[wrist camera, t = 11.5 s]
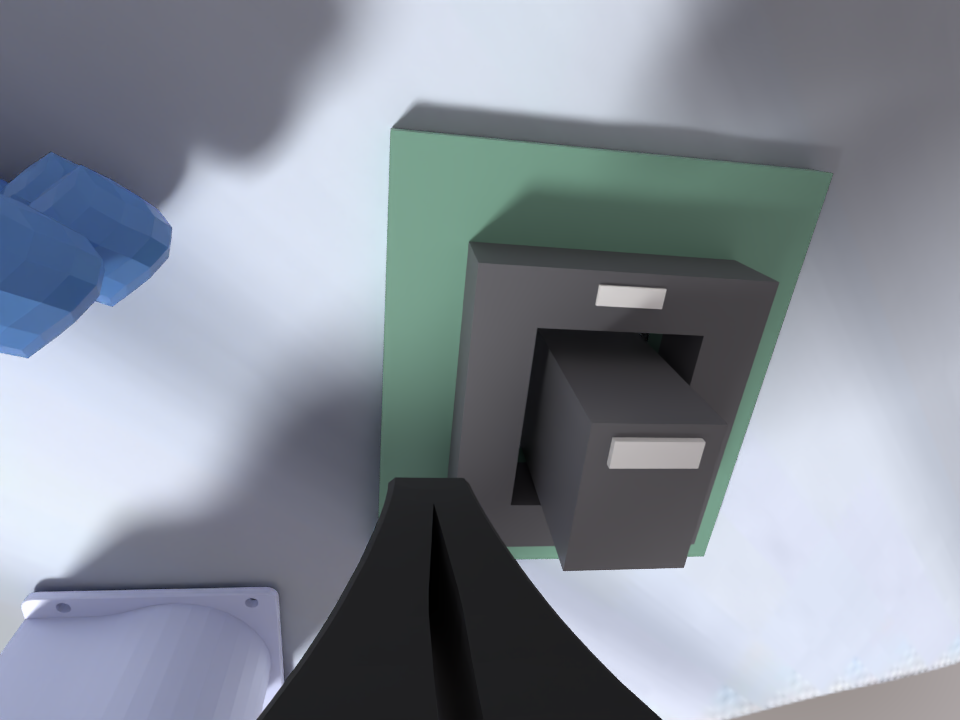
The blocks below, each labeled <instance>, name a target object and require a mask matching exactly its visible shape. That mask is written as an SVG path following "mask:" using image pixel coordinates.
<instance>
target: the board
mask: <svg viewBox="0 0 960 720" xmlns="http://www.w3.org/2000/svg"><path fill="white" fill-rule="evenodd" d="M832 176H833V173H828V172H823V171H818V170H811V169H801V168H791V167H781V166H771V165H761V164H751V163H741V162H731V161H720V160H710V159H700V158H690V157H680V156H670V155H660V154H650V153H639V152H629V151H619V150H609V149H599V148H589V147H579V146H569V145H558V144H548V143H538V142H528V141H518V140H508V139H498V138H488V137H477V136H467V135H457V134H447V133H437V132H427V131H417V130H407V129H396V128H391V133H390V165H389V197H388V229H387V260H386V292H385V324H384V356H383V388H382V419H381V451H380V483H379V515H378V519H379V517H380V514H381V511H382V508H383V505H384V502H385V498H386V494H387V490H388V483H389V482H390V481H391V480H393V479H394V478H395V477H408V478H464V479H465V480H466V481H467V482H468V483H469V484H470V486H471V488H472V490H473V492H474V494H475V496H476V498H477V500H478V501H479V503H480V505H481V507H482V508H483V510H484V512H485V514H486V515H487V517H488V519H489V520H490V522H491V524H492V525H493V527H494V528H495V530H496V532H497V533H498V535H499V536H500V538H501V539H502V541H503V542H504V544H505V545H506V547H507V548H508V550H509V551H510V552H511V554H512V555H513V557H514V558H515V559H559V557H558V554H557V551H556V548H555V545H554V542H553V539H552V536H551V533H550V530H549V527H548V524H547V521H546V518H545V515H544V512H543V510H542V507H541V504H540V501H539V498H538V495H537V492H536V489H535V486H534V483H533V480H532V477H531V474H530V471H529V468H528V465H527V462H526V459H525V456H524V453H523V450H522V448H519V447H520V440H521V434H522V427H523V420H524V414H525V407H526V400H527V393H528V387H529V380H530V373H531V367H532V360H533V353H534V347H535V340H536V333H537V328H551V329H572V330H593V331H614V332H635V333H649V337H648V341H647V343H648V344H649V345H650V346H651V347H652V348H653V349H654V350H655V351H656V352H657V353H658V354H659V355H660V356H661V357H662V358H663V359H664V360H665V361H666V362H667V363H668V364H669V365H670V366H671V367H672V368H673V369H674V370H675V371H676V373H677V374H678V375H679V376H680V377H681V378H682V379H683V380H684V381H685V382H686V383H687V384H688V385H689V386H690V387H691V388H692V389H693V390H694V391H695V392H696V393H697V394H698V395H699V396H700V397H701V398H702V399H703V400H704V401H705V402H706V403H707V404H708V405H709V406H710V407H711V408H712V409H713V410H714V411H715V412H716V413H717V414H718V415H719V416H720V417H721V418H722V419H723V420H724V421H725V422H726V423H727V424H728V426H727V430H726V433H725V436H724V439H723V442H722V446H721V449H720V452H719V455H718V459H717V462H716V465H715V468H714V471H713V475H712V478H711V481H710V484H709V488H708V491H707V494H706V497H705V501H704V504H703V507H702V510H701V513H700V517H699V520H698V523H697V526H696V530H695V533H694V536H693V539H692V543H691V546H690V549H689V552H688V555H687V557H694V556H704V554H705V551H706V548H707V545H708V542H709V539H710V536H711V533H712V531H713V528H714V525H715V522H716V519H717V516H718V513H719V510H720V507H721V504H722V501H723V498H724V495H725V492H726V489H727V486H728V483H729V480H730V477H731V474H732V471H733V468H734V465H735V463H736V460H737V457H738V454H739V451H740V448H741V445H742V442H743V439H744V436H745V433H746V430H747V427H748V424H749V421H750V418H751V415H752V412H753V409H754V406H755V403H756V400H757V397H758V395H759V392H760V389H761V386H762V383H763V380H764V377H765V374H766V371H767V368H768V365H769V362H770V359H771V356H772V353H773V350H774V347H775V344H776V341H777V338H778V335H779V332H780V329H781V327H782V324H783V321H784V318H785V315H786V312H787V309H788V306H789V303H790V300H791V297H792V294H793V291H794V288H795V285H796V282H797V279H798V276H799V273H800V270H801V267H802V264H803V261H804V259H805V256H806V253H807V250H808V247H809V244H810V241H811V238H812V235H813V232H814V229H815V226H816V223H817V220H818V217H819V214H820V211H821V208H822V205H823V202H824V199H825V196H826V193H827V191H828V188H829V185H830V182H831V179H832Z"/></svg>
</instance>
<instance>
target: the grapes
mask: <svg viewBox="0 0 960 720" xmlns="http://www.w3.org/2000/svg"><path fill="white" fill-rule="evenodd" d="M171 238H172V227H171V226H170V224H169V223H168V222H167V220H166V219H165V218H164V216H163V215H162V214H161V212H160V211H159V210H158V209H157V208H155V207H154V206H152V205H151V204H150V203H148V202H147V201H145V200H144V199H142V198H141V197H139V196H137V195H136V194H134V193H133V192H131V191H129V190H128V189H126V188H124V187H123V186H121V185H119V184H118V183H116V182H114V181H113V180H111V179H109V178H107V177H105V176H103V175H101V174H99V173H97V172H95V171H93V170H91V169H89V168H87V167H84V166H82V165H77V164H75V163H73V162H71V161H69V160H67V159H65V158H63V157H61V156H59V155H57V154H55V153H53V152H50V153H49V154H47V155H46V156H44V157H43V158H41V159H40V160H38V161H37V162H35V163H34V164H32V165H31V166H29V167H28V168H26V169H25V170H24V171H23V172H22V173H20V174H19V175H18V176H17V177H16V178H14V179H13V180H12V181H11V182H10V183H8V182H6V181H4V180H2V179H0V353H5V354H10V355H15V356H20V357H25V358H29V357H30V356H32V355H33V354H34V353H36V352H37V351H39V350H40V349H41V348H43V347H44V346H45V345H47V344H48V343H49V342H51V341H52V340H54V339H55V338H56V337H58V336H59V335H60V334H61V333H62V332H64V331H65V330H66V329H67V328H69V327H70V326H71V325H72V324H73V323H75V322H76V321H77V320H78V318H79V317H80V316H81V315H82V314H83V313H84V312H85V311H86V310H87V309H88V308H89V307H90V306H91V305H92V304H93V303H94V301H96V302H99V303H102V304H105V305H108V306H112V307H113V306H114V305H115V304H117V303H118V302H119V301H121V300H122V299H123V298H125V297H126V296H128V295H129V294H130V293H132V292H133V291H134V290H136V289H137V288H138V287H139V286H141V285H142V284H143V283H144V282H146V281H147V280H148V279H149V278H151V276H152V275H153V274H154V273H155V272H156V271H157V270H158V269H159V268H160V266H161V265H162V264H163V263H164V262H165V261H166V260H167V259H168V257H169V251H170V245H171Z"/></svg>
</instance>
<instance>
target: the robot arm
mask: <svg viewBox="0 0 960 720" xmlns="http://www.w3.org/2000/svg"><path fill="white" fill-rule="evenodd" d="M250 598H253V599H256V600H251V599H250ZM65 603H66V604H65ZM21 609H22V612H23V615H24V618H25V620H24V622H23V623H22V624H21V626H20V627H19V629H18V630H17V631H16V633H15V634H14V635H13V637H12V638H11V640H10V641H9V642H8V644H7V645H6V647H5V648H4V649H3V651H2V652H1V654H0V720H662V719H661V718H660V717H659V716H658V715H657V714H656V713H654V712H653V711H652V710H651V709H650V708H649V707H648V706H647V705H646V704H645V703H643V702H642V701H641V700H640V699H639V698H638V697H637V696H636V695H635V694H634V693H632V692H631V691H630V690H629V689H628V688H627V687H626V686H625V685H624V684H622V683H621V682H620V681H619V680H618V679H617V678H616V677H615V676H614V675H613V674H612V673H611V672H610V671H609V670H608V669H607V668H606V667H605V666H604V665H603V664H602V663H601V661H600V660H599V659H598V658H597V657H596V656H595V655H594V654H593V653H592V652H591V651H590V650H589V649H588V648H587V647H586V646H585V645H584V644H583V643H582V641H581V640H580V639H579V638H578V637H577V636H576V635H575V634H574V633H573V632H572V631H571V629H570V628H569V627H568V626H567V625H566V624H565V623H564V621H563V620H562V619H561V618H560V617H559V616H558V614H557V613H556V612H555V611H554V610H553V608H552V607H551V606H550V605H549V604H548V602H547V601H546V600H545V598H544V597H543V596H542V595H541V593H540V592H539V591H538V590H537V588H536V587H535V586H534V584H533V583H532V582H531V581H530V579H529V578H528V576H527V575H526V574H525V572H524V571H523V570H522V568H521V567H520V566H519V564H518V563H517V561H516V560H515V558H514V557H513V555H512V554H511V552H510V551H509V550H508V548H507V547H506V545H505V544H504V542H503V541H502V539H501V538H500V536H499V535H498V533H497V532H496V530H495V528H494V527H493V525H492V524H491V522H490V520H489V519H488V517H487V515H486V514H485V512H484V510H483V508H482V507H481V505H480V503H479V501H478V500H477V498H476V496H475V494H474V492H473V490H472V488H471V486H470V484H469V483H468V482H467V481H466V480H465V479H464V478H408V477H395V478H394V479H393V480H391V481H390V482H389V483H388V490H387V494H386V498H385V502H384V505H383V508H382V511H381V514H380V517H379V519H378V522H377V524H376V527H375V530H374V532H373V534H372V536H371V538H370V540H369V543H368V545H367V547H366V549H365V551H364V553H363V556H362V558H361V560H360V562H359V564H358V566H357V568H356V570H355V572H354V573H353V575H352V577H351V579H350V581H349V582H348V584H347V586H346V588H345V590H344V591H343V593H342V595H341V597H340V599H339V600H338V602H337V604H336V606H335V607H334V609H333V611H332V612H331V614H330V616H329V617H328V619H327V621H326V622H325V624H324V625H323V627H322V629H321V630H320V632H319V633H318V635H317V636H316V638H315V639H314V641H313V642H312V644H311V645H310V647H309V648H308V650H307V651H306V653H305V654H304V656H303V657H302V659H301V660H300V662H299V663H298V664H297V666H296V667H295V668H294V670H293V671H292V673H291V674H290V675H289V677H288V678H287V679H286V681H285V682H284V670H283V654H282V638H281V622H280V607H279V595H278V592H277V591H276V590H275V589H273V588H270V587H239V588H194V589H149V590H103V591H58V592H34V593H31V594H29V595H28V596H27V597H26V598H25V600H24V601H23V602H22V604H21Z"/></svg>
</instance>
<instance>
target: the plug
mask: <svg viewBox="0 0 960 720" xmlns="http://www.w3.org/2000/svg"><path fill="white" fill-rule="evenodd" d="M727 426H728V424H727V423H726V422H725V421H724V420H723V419H722V418H721V417H720V416H719V415H718V414H717V413H716V412H715V411H714V410H713V409H712V408H711V407H710V406H709V405H708V404H707V403H706V402H705V401H704V400H703V399H702V398H701V397H700V396H699V395H698V394H697V393H696V392H695V391H694V390H693V389H692V388H691V387H690V386H689V385H688V384H687V383H686V382H685V381H684V380H683V379H682V378H681V377H680V376H679V375H678V374H677V373H676V371H675V370H674V369H673V368H672V367H671V366H670V365H669V364H668V363H667V362H666V361H665V360H664V359H663V358H662V357H661V356H660V355H659V354H658V353H657V352H656V351H655V350H654V349H653V348H652V347H651V346H650V345H649V344H648V343H647V342H646V341H645V340H644V339H643V338H642V337H641V336H640V335H639V334H638V333H635V332H614V331H593V330H572V329H551V328H537V333H536V340H535V347H534V353H533V360H532V367H531V373H530V380H529V387H528V393H527V400H526V407H525V414H524V420H523V427H522V434H521V440H520V444H521V447H522V450H523V453H524V456H525V459H526V462H527V465H528V468H529V471H530V474H531V477H532V480H533V483H534V486H535V489H536V492H537V495H538V498H539V501H540V504H541V507H542V510H543V512H544V515H545V518H546V521H547V524H548V527H549V530H550V533H551V536H552V539H553V542H554V545H555V548H556V551H557V554H558V557H559V560H560V563H561V566H562V569H563V571H583V570H620V569H656V568H684V565H685V562H686V559H687V555H688V552H689V549H690V546H691V543H692V539H693V536H694V533H695V530H696V526H697V523H698V520H699V517H700V513H701V510H702V507H703V504H704V501H705V497H706V494H707V491H708V488H709V484H710V481H711V478H712V475H713V471H714V468H715V465H716V462H717V459H718V455H719V452H720V449H721V446H722V442H723V439H724V436H725V433H726V430H727Z"/></svg>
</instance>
